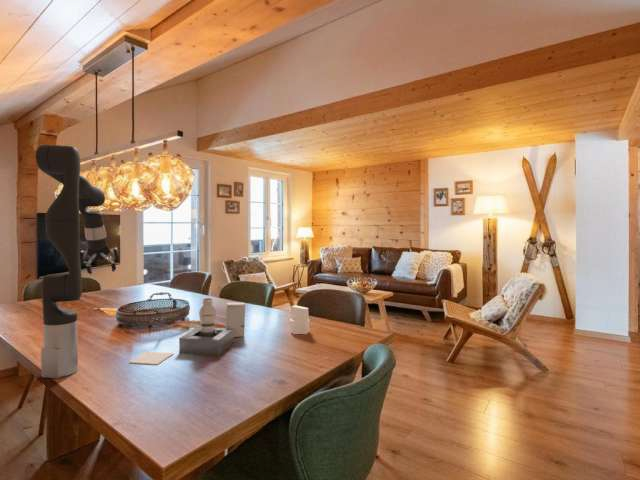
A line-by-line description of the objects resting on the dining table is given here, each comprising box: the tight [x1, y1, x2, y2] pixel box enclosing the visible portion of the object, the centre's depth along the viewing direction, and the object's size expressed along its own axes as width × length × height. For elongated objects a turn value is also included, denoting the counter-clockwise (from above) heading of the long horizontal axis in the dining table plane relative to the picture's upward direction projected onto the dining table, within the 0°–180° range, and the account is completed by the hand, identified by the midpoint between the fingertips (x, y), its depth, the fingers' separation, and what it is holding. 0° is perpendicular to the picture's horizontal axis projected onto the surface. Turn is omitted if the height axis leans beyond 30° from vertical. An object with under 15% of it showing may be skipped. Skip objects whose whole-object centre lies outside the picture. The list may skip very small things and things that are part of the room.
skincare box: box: [225, 301, 246, 338], centre depth 167 cm, size 8×6×15 cm
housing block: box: [178, 326, 235, 357], centre depth 150 cm, size 16×16×6 cm
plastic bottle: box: [198, 297, 217, 337], centre depth 149 cm, size 6×7×20 cm
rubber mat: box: [128, 351, 175, 366], centre depth 137 cm, size 11×11×1 cm
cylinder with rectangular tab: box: [289, 304, 310, 335], centre depth 173 cm, size 9×9×12 cm
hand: (102, 272), depth 158 cm, fingers open, 8 cm apart
